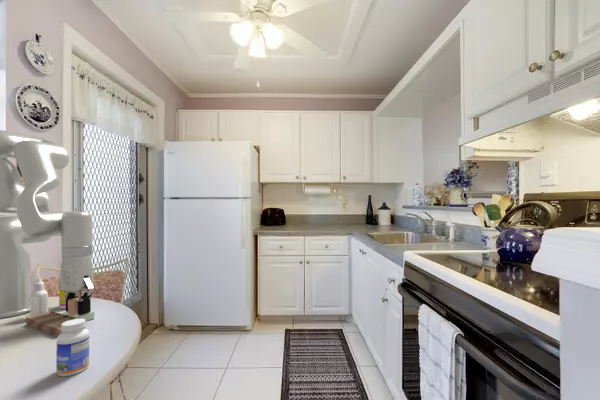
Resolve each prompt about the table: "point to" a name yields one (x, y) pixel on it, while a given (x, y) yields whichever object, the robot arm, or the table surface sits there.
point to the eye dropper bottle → (39, 299)
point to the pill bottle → (72, 348)
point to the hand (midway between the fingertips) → (78, 311)
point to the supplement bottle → (63, 297)
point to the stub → (74, 311)
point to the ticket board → (48, 322)
